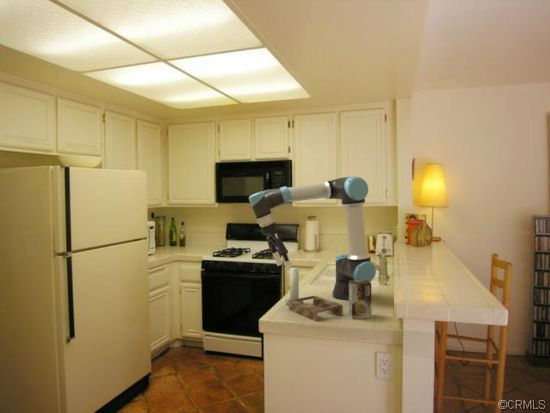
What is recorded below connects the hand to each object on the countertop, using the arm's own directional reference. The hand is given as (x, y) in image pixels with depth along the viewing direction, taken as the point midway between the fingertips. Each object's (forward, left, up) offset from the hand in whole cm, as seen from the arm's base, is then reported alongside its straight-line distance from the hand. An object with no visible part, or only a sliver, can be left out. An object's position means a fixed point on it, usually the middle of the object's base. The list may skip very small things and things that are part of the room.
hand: (284, 266), depth 181 cm
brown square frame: (-13, +7, -22) cm, 26 cm away
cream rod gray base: (-12, -9, -22) cm, 27 cm away
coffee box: (-26, +24, -22) cm, 41 cm away
